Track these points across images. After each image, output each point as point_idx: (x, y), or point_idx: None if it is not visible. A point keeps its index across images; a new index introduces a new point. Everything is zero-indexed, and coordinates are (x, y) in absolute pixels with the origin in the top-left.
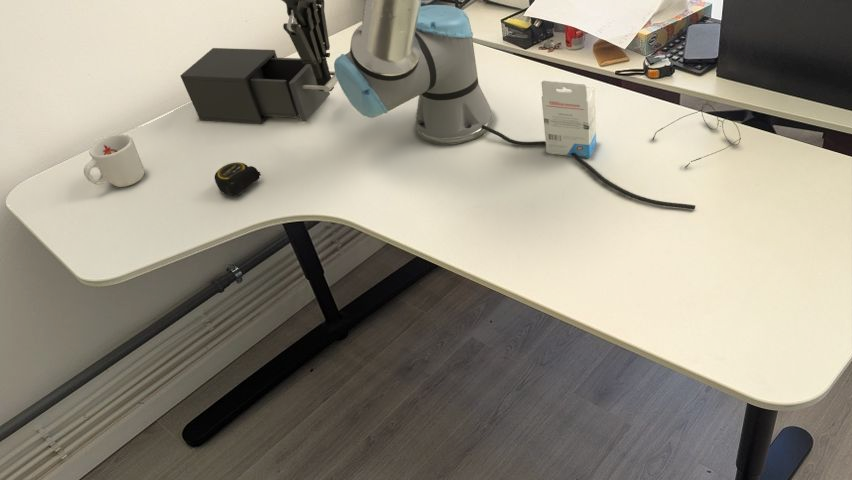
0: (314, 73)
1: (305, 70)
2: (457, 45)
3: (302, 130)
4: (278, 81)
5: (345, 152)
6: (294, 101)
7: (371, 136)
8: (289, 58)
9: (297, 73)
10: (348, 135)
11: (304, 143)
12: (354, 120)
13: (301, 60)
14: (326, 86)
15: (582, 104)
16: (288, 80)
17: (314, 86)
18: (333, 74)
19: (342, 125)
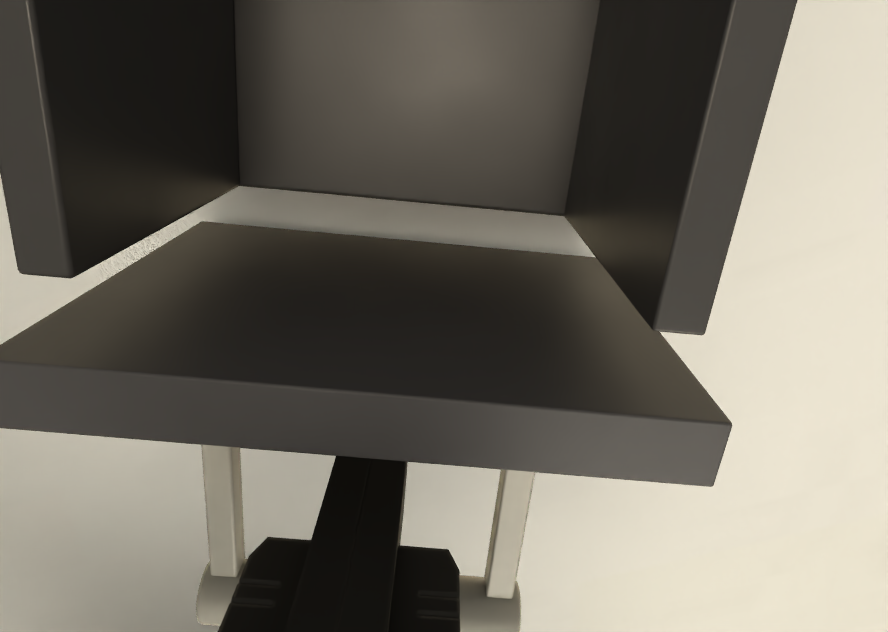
0: (235, 596)
1: (331, 451)
2: None
3: (152, 238)
4: (1, 169)
5: (6, 554)
6: (418, 75)
7: (174, 624)
8: (771, 23)
9: (633, 107)
10: (159, 523)
11: (14, 312)
12: (312, 509)
13: (664, 266)
14: (199, 618)
15: None
16: None
17: (210, 500)
18: (488, 560)
19: (252, 464)
